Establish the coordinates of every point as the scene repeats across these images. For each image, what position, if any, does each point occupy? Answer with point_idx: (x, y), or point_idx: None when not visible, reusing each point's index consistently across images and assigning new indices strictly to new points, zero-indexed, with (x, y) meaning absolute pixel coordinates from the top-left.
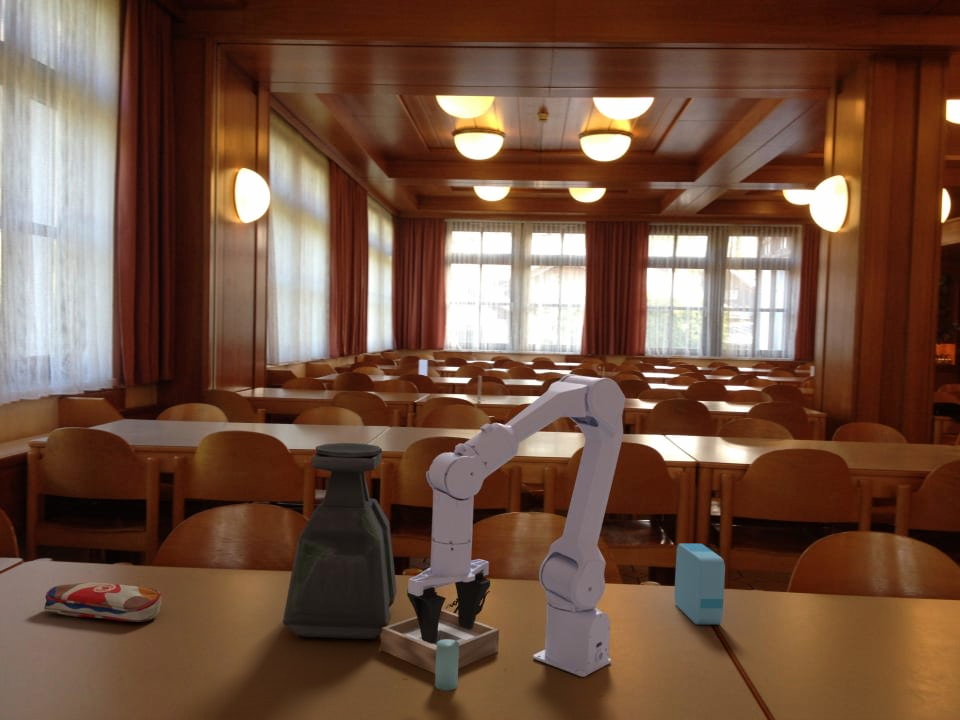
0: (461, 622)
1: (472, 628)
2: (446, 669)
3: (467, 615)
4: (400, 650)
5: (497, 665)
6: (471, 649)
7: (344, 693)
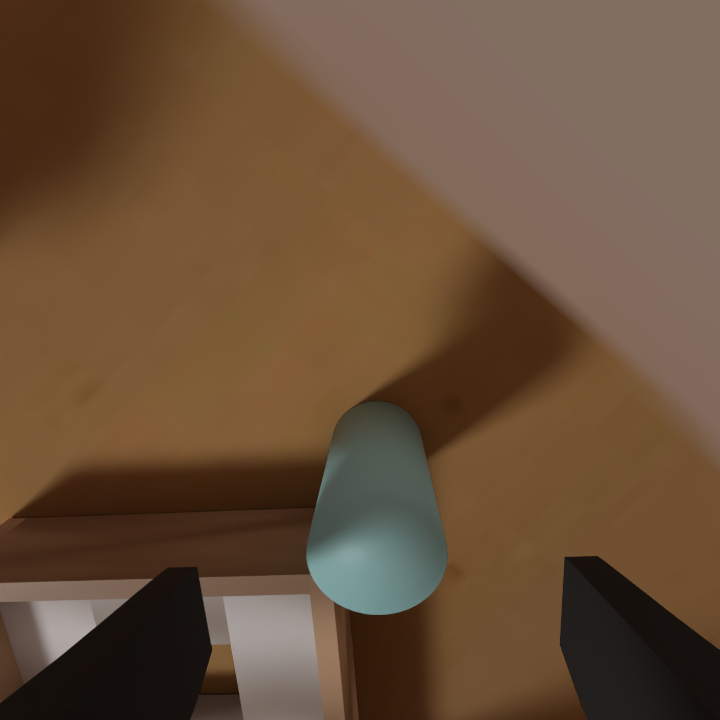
0: (197, 661)
1: (7, 678)
2: (416, 452)
3: (149, 684)
4: (354, 718)
5: (92, 437)
6: (141, 549)
7: (692, 618)
